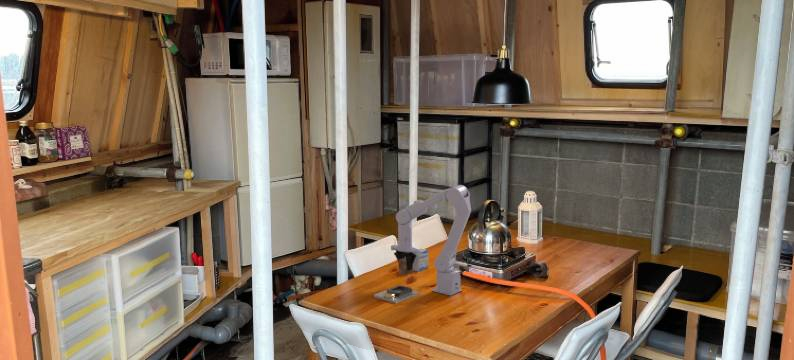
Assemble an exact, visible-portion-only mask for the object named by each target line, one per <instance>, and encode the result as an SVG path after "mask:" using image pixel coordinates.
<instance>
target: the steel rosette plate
mask: <svg viewBox="0 0 794 360" xmlns="http://www.w3.org/2000/svg"><path fill="white" fill-rule="evenodd" d="M418 295H420V292H419V291H418V290H417V291H416V290H413V288H412V287H410V286H406V285H402V284H401V285H399V284H398V285H396V286H393V287H391V288H388V289H385V290H383V291H380V292H378V293H375V294H373V298H375V299H379V300H382V301H386V302H389V303H393V304H398V303H401V302H403V301H406V300H408V299H411V298H413V297H416V296H418Z"/></svg>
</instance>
